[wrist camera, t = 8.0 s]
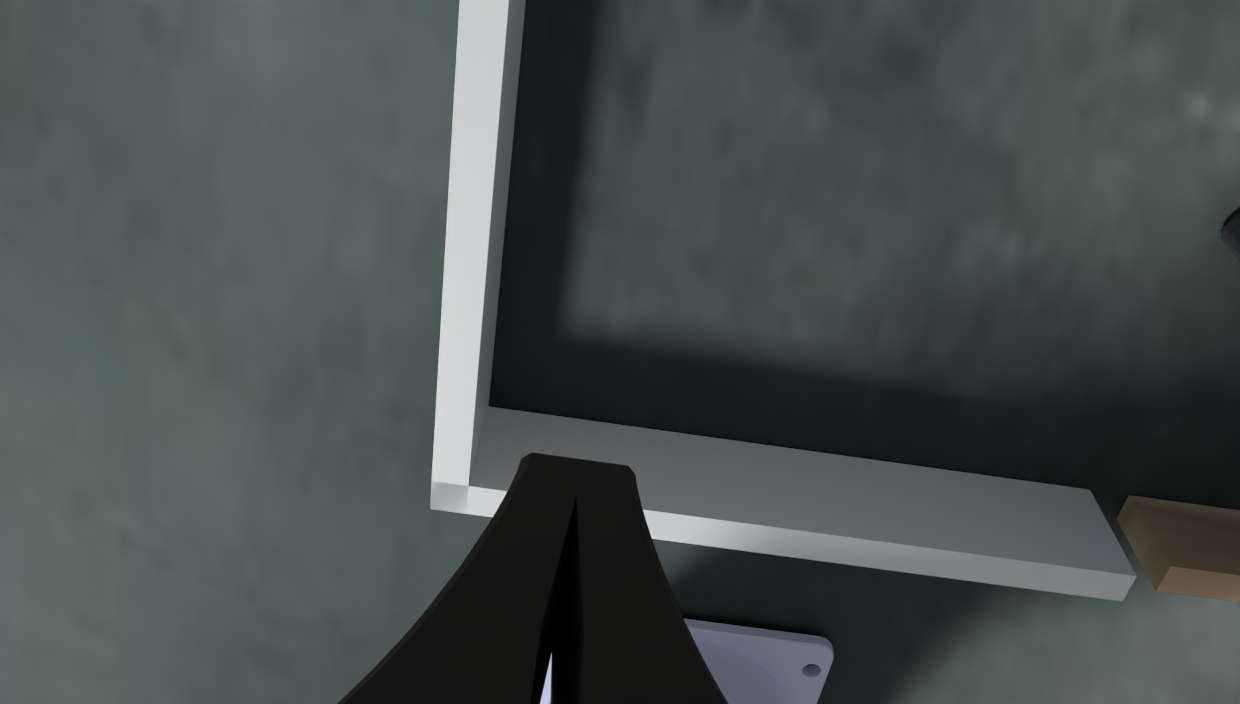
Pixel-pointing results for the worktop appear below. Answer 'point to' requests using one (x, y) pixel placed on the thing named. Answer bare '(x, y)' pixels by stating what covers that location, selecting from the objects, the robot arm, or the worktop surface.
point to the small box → (1232, 235)
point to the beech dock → (1185, 546)
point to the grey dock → (705, 466)
